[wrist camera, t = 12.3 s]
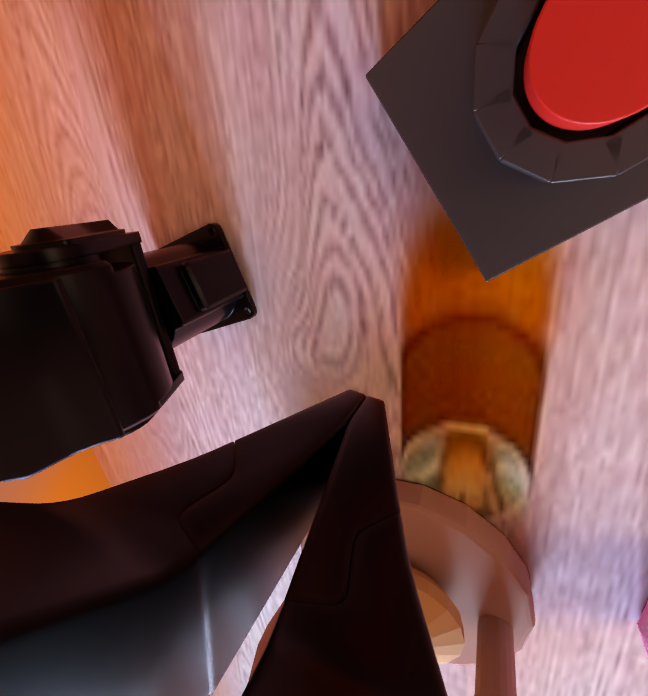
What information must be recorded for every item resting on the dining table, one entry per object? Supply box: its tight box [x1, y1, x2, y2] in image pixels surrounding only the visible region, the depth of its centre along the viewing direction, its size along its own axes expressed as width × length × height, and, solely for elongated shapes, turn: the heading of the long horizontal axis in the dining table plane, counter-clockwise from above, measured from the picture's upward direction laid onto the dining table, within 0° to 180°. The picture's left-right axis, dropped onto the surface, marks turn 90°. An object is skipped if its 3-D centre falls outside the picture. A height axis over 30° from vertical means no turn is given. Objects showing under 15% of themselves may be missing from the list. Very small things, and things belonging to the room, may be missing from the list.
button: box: [523, 0, 648, 131], centre depth 10 cm, size 4×4×2 cm
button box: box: [366, 0, 648, 281], centre depth 12 cm, size 12×10×4 cm
